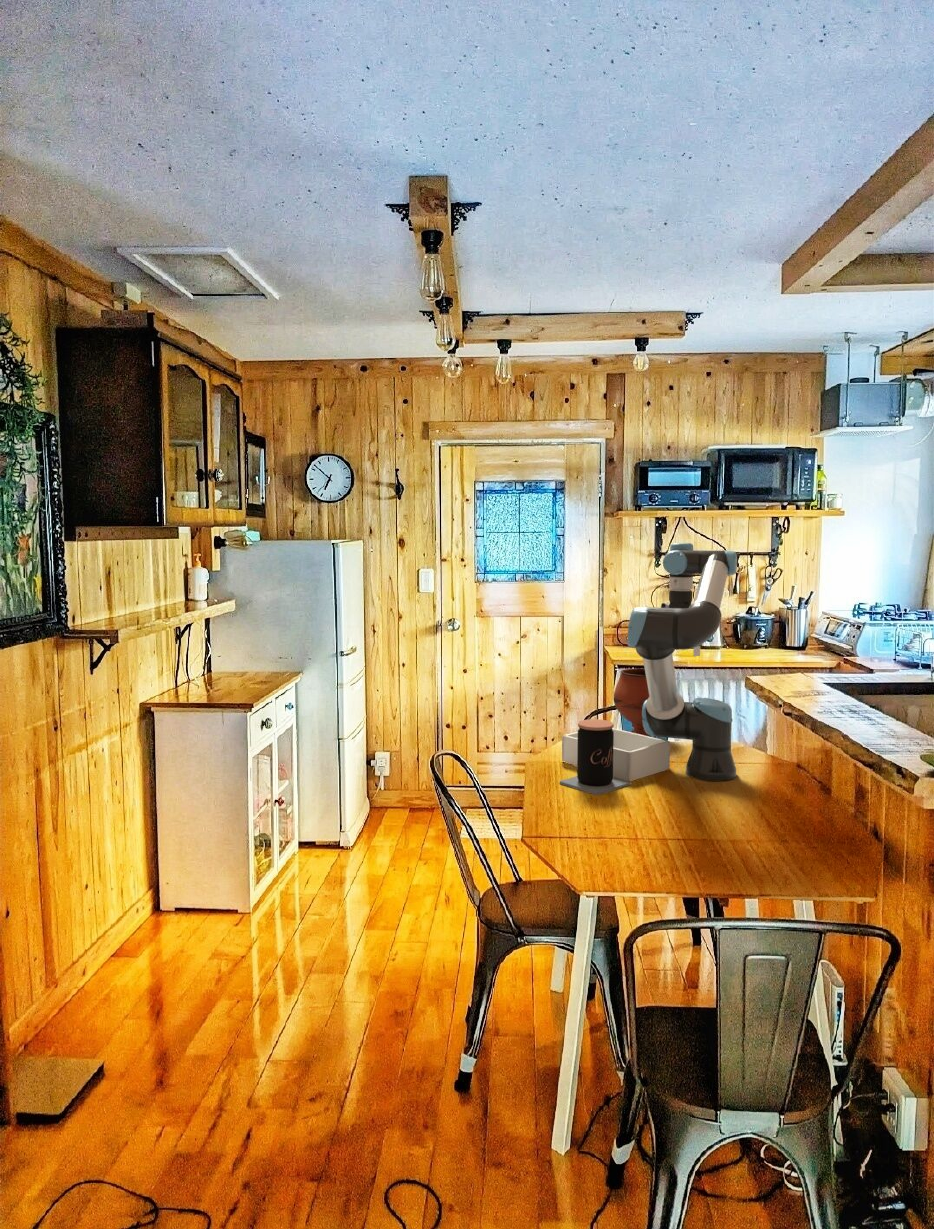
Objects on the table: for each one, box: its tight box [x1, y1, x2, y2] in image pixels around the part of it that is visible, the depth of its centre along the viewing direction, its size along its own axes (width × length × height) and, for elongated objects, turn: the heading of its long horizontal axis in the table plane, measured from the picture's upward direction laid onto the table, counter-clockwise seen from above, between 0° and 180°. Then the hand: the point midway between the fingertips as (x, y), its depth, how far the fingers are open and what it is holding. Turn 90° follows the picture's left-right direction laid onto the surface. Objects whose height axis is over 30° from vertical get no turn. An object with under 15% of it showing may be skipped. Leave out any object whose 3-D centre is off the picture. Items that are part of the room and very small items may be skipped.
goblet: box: [613, 668, 652, 737], centre depth 316 cm, size 19×19×25 cm
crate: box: [561, 727, 671, 782], centre depth 284 cm, size 28×20×9 cm
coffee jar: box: [576, 718, 615, 786], centre depth 263 cm, size 11×11×18 cm
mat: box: [559, 775, 632, 796], centre depth 264 cm, size 15×15×1 cm
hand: (679, 653), depth 292 cm, fingers open, 13 cm apart
